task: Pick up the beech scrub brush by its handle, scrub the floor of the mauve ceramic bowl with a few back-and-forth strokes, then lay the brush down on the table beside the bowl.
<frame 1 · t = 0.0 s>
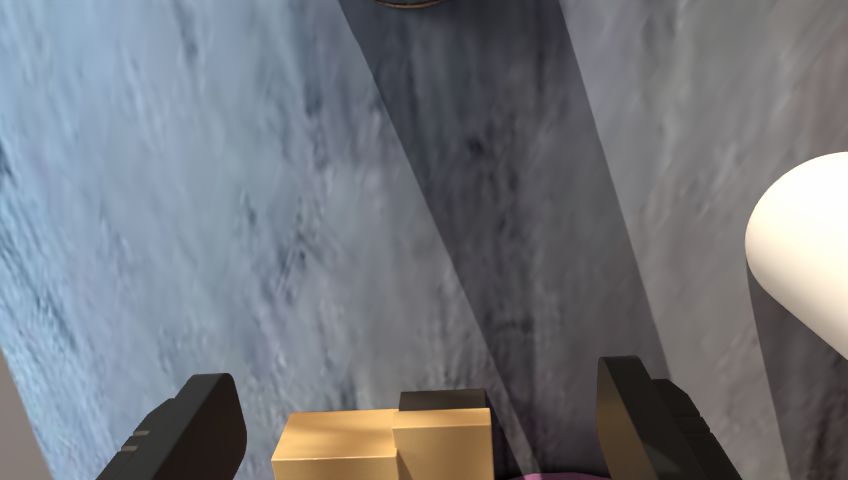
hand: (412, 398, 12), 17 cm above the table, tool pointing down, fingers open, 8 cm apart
cup: (835, 192, 27), on the table
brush: (388, 423, 33), on the table
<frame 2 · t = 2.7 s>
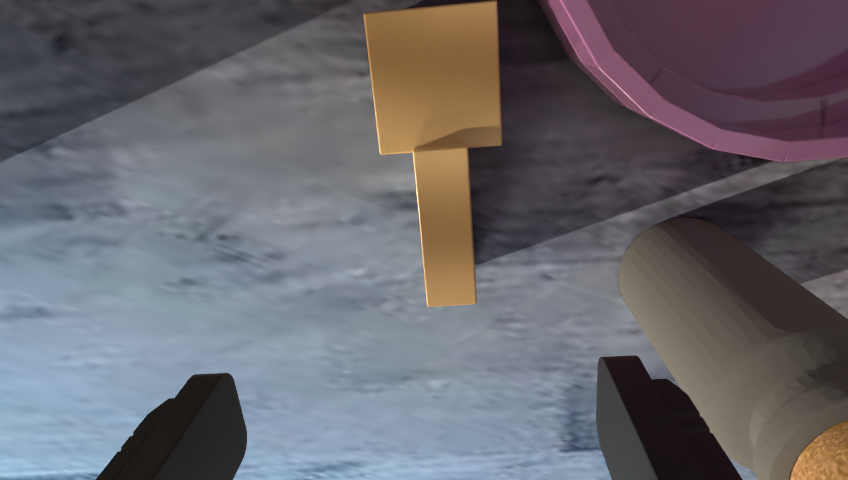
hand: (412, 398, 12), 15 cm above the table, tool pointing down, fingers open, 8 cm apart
bottle: (674, 269, 27), on the table
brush: (442, 152, 25), on the table
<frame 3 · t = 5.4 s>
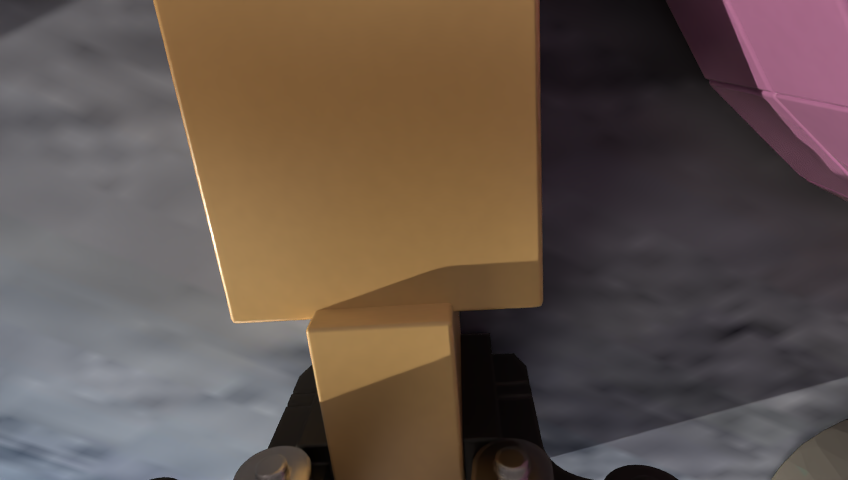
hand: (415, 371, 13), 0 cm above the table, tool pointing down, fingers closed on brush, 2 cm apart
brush: (406, 273, 12), on the table, touching gripper
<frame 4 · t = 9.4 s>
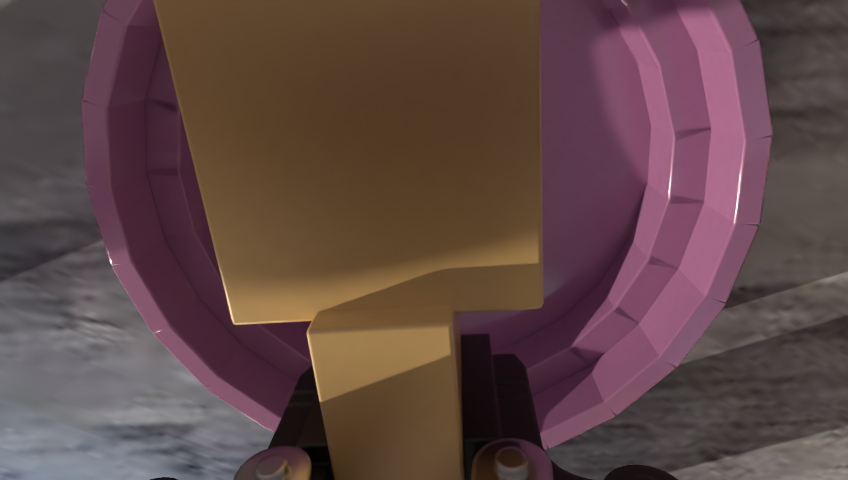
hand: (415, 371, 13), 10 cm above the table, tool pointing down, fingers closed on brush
bowl: (424, 167, 21), on the table
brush: (406, 274, 12), point 10 cm above the table, touching gripper
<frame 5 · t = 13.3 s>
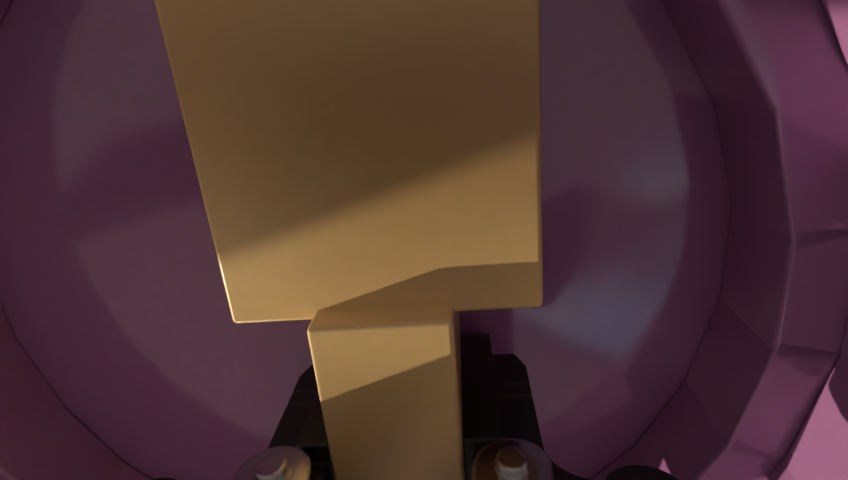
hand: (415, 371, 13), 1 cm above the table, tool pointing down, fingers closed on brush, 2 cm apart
bowl: (347, 263, 13), on the table
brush: (406, 273, 12), point 1 cm above the table, touching gripper
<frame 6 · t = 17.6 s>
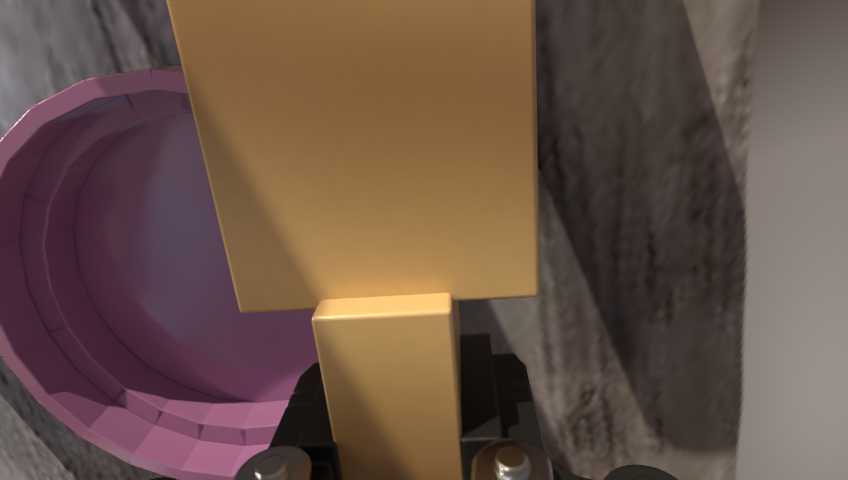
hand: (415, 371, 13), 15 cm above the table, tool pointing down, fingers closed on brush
bowl: (238, 265, 29), on the table
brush: (407, 267, 12), point 15 cm above the table, touching gripper
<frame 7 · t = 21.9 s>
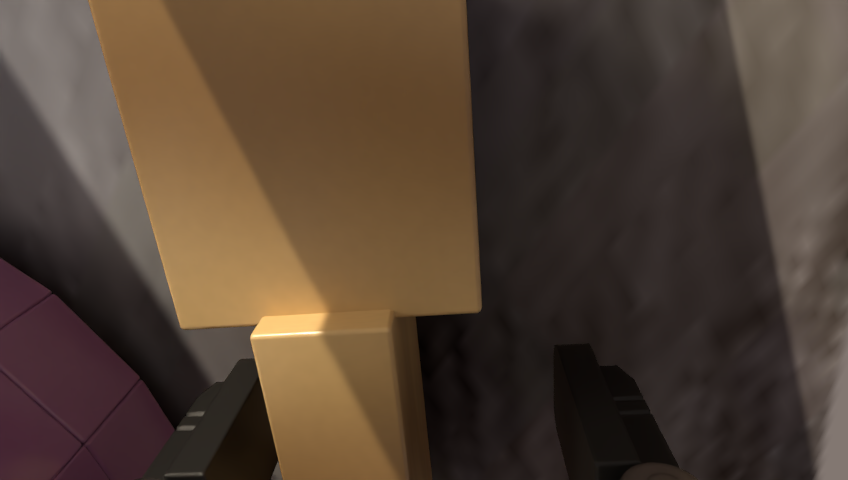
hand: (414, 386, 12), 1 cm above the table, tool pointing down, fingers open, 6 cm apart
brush: (363, 278, 12), on the table
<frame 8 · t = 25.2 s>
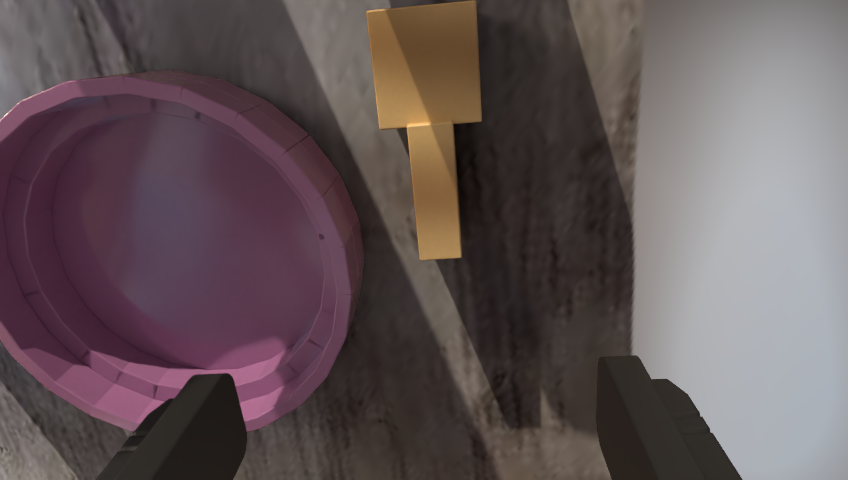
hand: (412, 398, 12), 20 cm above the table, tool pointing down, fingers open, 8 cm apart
bowl: (196, 246, 33), on the table
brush: (434, 130, 30), on the table
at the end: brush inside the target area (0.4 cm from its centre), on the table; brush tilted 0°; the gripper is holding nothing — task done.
